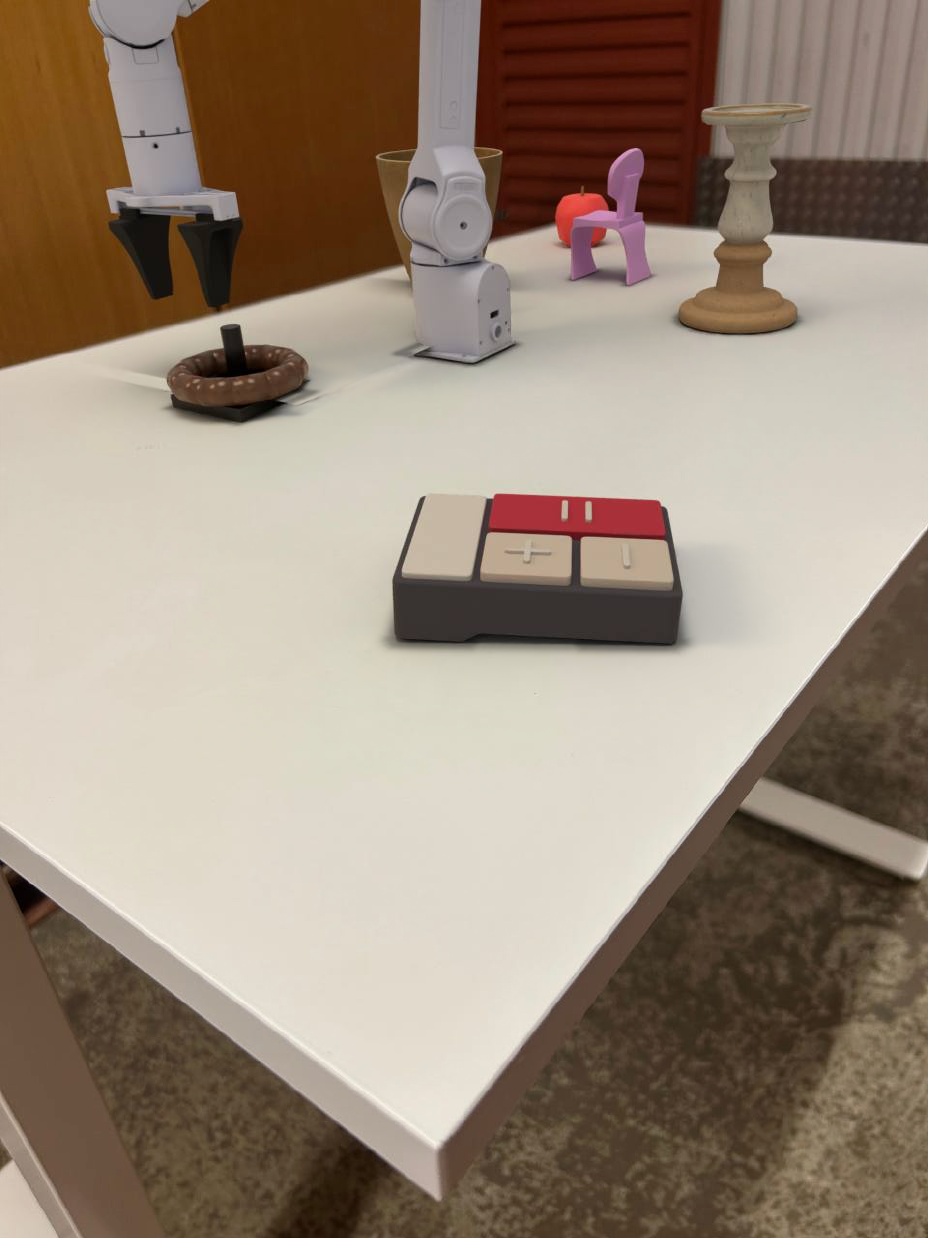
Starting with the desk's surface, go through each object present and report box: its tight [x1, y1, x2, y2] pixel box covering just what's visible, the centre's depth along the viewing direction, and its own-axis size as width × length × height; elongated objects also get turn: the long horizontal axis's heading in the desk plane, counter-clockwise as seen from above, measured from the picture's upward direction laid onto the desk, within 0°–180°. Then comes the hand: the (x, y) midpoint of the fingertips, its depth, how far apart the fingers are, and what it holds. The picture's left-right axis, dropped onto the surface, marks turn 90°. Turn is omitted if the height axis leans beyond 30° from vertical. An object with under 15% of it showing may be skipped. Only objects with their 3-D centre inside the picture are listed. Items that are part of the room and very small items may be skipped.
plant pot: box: [375, 146, 504, 284], centre depth 116 cm, size 15×15×16 cm
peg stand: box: [170, 323, 311, 423], centre depth 87 cm, size 9×9×7 cm
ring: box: [165, 344, 310, 406], centre depth 87 cm, size 12×12×2 cm
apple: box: [554, 185, 610, 248], centre depth 141 cm, size 8×8×8 cm
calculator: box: [391, 493, 684, 644], centre depth 54 cm, size 11×4×15 cm
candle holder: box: [678, 102, 814, 334], centre depth 98 cm, size 12×12×20 cm
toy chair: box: [570, 147, 652, 286], centre depth 119 cm, size 8×9×15 cm
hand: (190, 300), depth 87 cm, fingers open, 7 cm apart
